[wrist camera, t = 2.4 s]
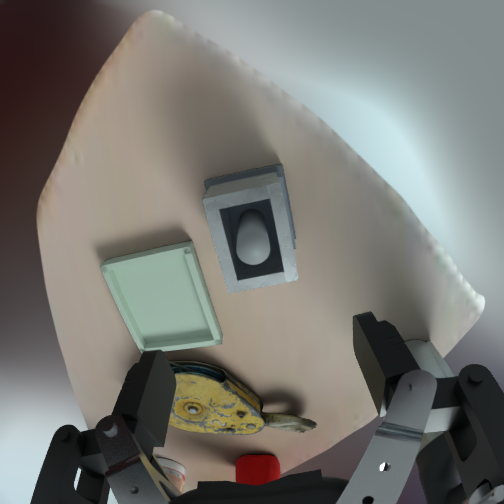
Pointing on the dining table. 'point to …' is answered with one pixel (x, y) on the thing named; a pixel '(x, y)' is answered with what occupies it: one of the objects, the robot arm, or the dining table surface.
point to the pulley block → (222, 404)
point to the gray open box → (233, 268)
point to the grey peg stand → (255, 218)
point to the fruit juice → (174, 472)
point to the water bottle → (257, 469)
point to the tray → (164, 298)
